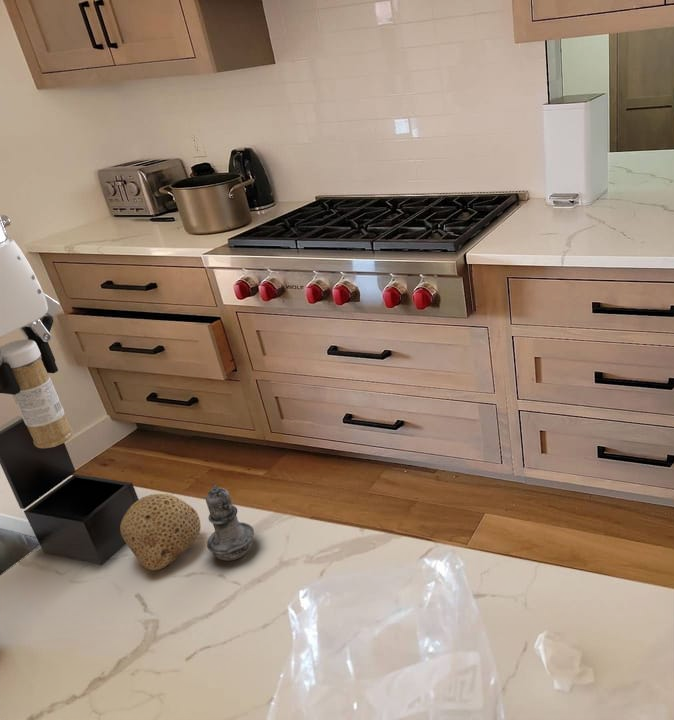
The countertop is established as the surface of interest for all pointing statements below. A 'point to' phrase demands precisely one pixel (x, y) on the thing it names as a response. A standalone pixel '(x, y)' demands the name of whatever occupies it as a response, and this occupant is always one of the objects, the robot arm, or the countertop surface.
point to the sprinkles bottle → (36, 394)
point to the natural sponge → (159, 529)
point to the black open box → (82, 518)
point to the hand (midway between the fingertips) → (28, 380)
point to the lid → (31, 463)
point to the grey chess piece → (226, 527)
